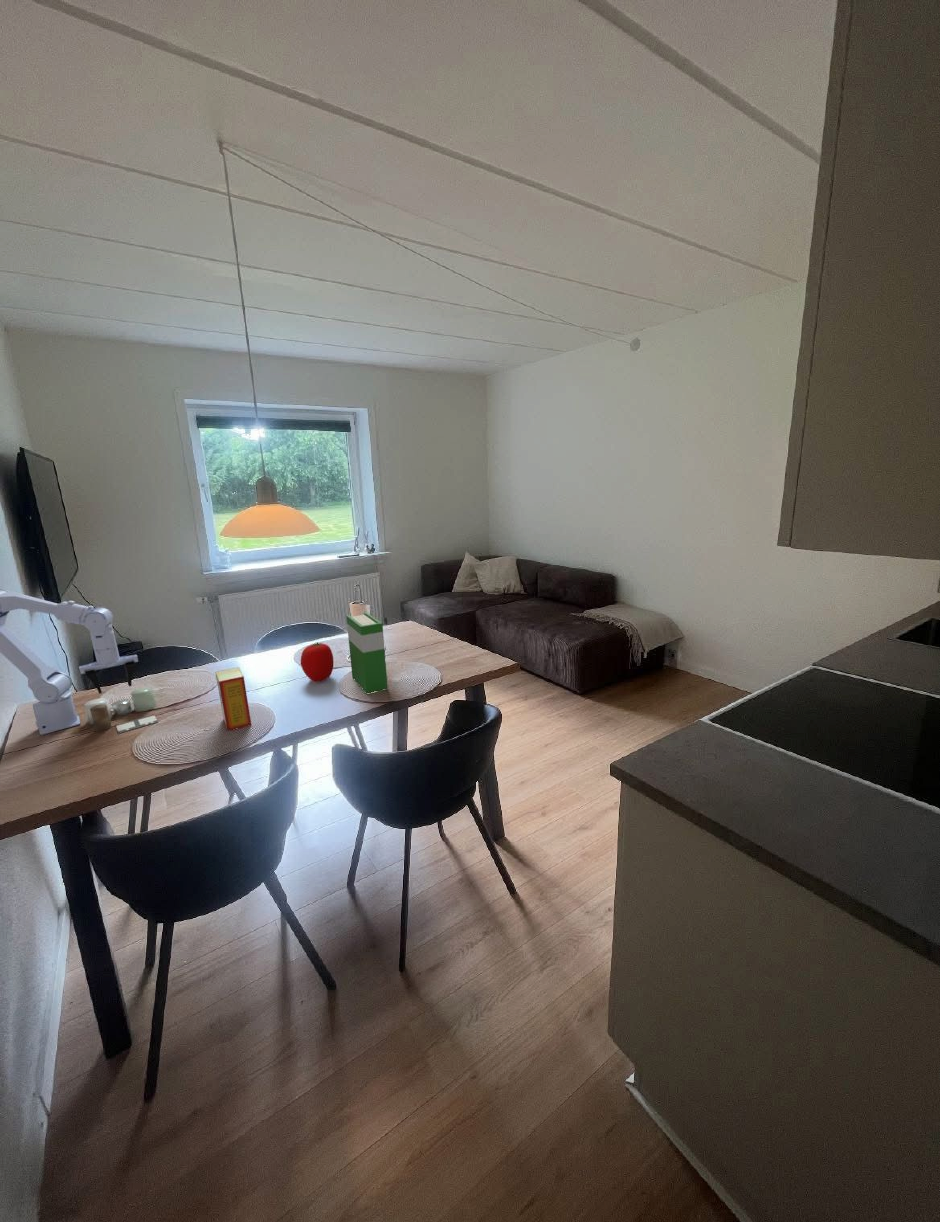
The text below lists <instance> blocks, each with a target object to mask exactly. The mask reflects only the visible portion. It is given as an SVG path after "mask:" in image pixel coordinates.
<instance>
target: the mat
mask: <svg viewBox="0 0 940 1222" xmlns="http://www.w3.org/2000/svg"><path fill="white" fill-rule="evenodd" d="M157 723H159V721H158V719H157V718H156V716H155V714H150V715H146V716H142V717H140V718H136V719H133V720H129V721H125V722H121V723H118V724H115V727H116V730H117V733H118V734H122V733H127V732H130V731H133V730H137V729H140V728H143V727H146V726H147V727H148V726H150V725H154V724H157Z"/></svg>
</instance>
